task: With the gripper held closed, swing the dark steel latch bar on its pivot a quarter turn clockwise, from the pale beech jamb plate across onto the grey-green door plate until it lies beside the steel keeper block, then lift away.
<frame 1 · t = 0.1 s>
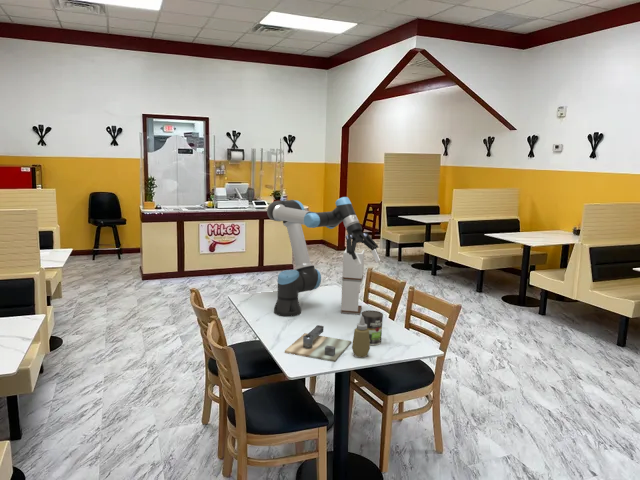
hand: (368, 263, 245), 36 cm above the table, tool tilted 35°, fingers open, 13 cm apart
coffee can: (370, 341, 240), on the table
squeeze bottle: (360, 355, 223), on the table
white square tower: (351, 311, 284), on the table
latch bar: (313, 336, 233), point 4 cm above the table, hinge at 90.0°
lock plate: (318, 347, 230), on the table
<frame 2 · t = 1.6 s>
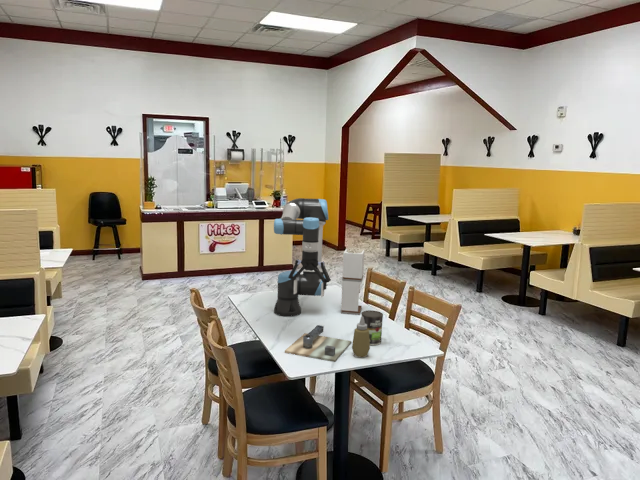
hand: (308, 294, 235), 22 cm above the table, tool pointing down, fingers open, 13 cm apart
nothing on the table moved.
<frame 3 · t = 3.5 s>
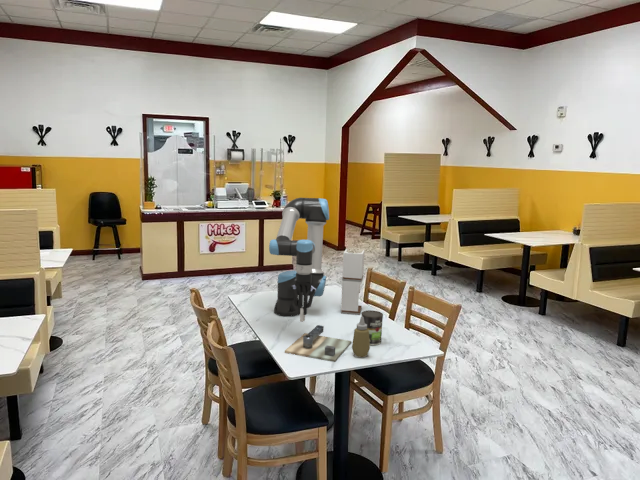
hand: (302, 320, 237), 10 cm above the table, tool pointing down, fingers closed
nothing on the table moved.
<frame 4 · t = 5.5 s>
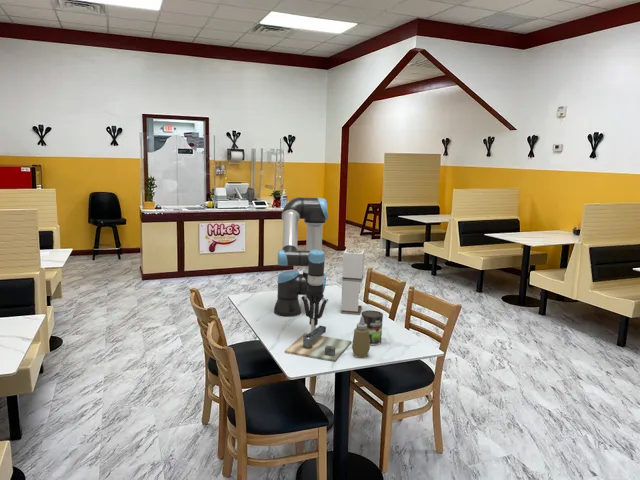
hand: (313, 331, 236), 5 cm above the table, tool pointing down, fingers closed
latch bar: (314, 336, 233), point 4 cm above the table, hinge at 85.3°, touching gripper
everything else where it was.
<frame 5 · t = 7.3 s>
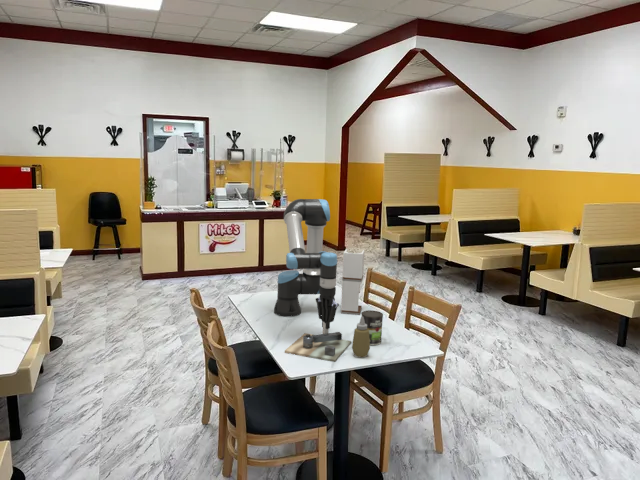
hand: (325, 334, 233), 5 cm above the table, tool pointing down, fingers closed
latch bar: (322, 339, 229), point 4 cm above the table, hinge at 42.4°, touching gripper
everything else where it was.
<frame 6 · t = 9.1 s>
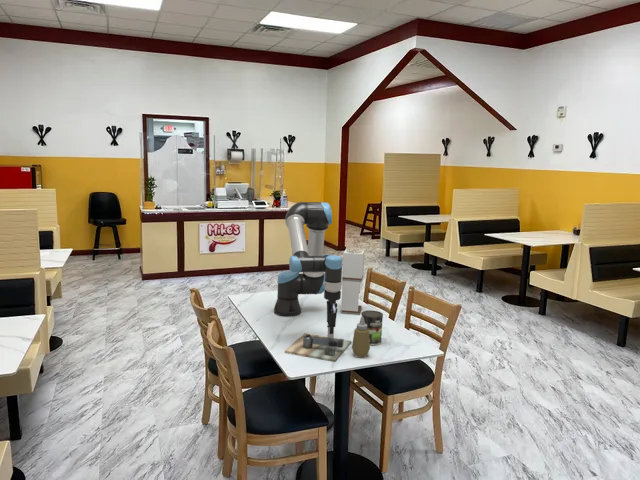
hand: (330, 339, 227), 5 cm above the table, tool pointing down, fingers closed
latch bar: (322, 343, 225), point 4 cm above the table, hinge at 9.0°, touching gripper
everything else where it was.
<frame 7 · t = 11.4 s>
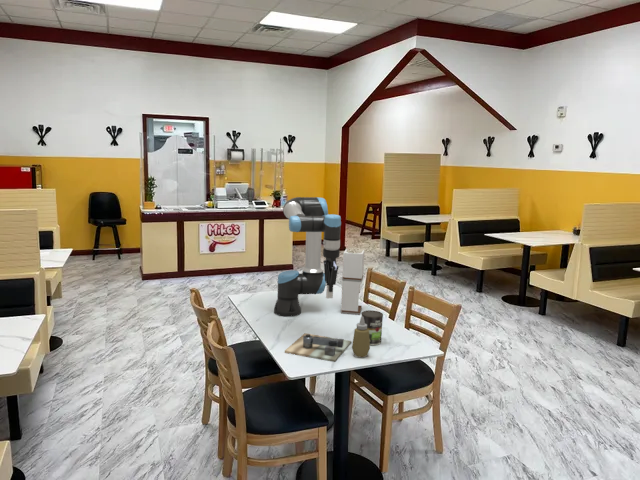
hand: (329, 297, 232), 22 cm above the table, tool pointing down, fingers closed
latch bar: (322, 343, 225), point 4 cm above the table, hinge at 8.9°
everything else where it was.
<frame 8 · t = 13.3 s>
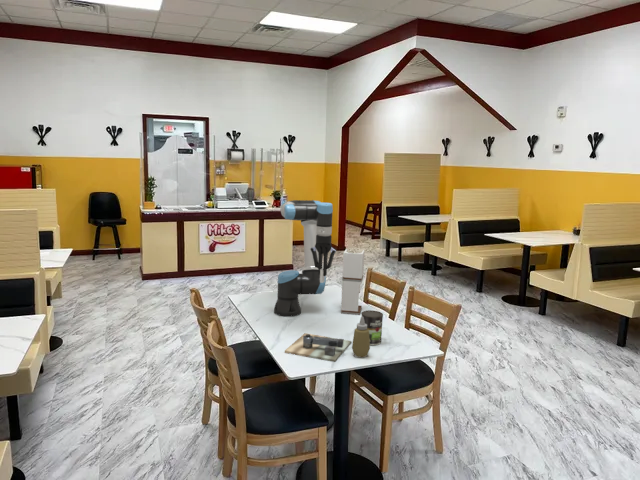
hand: (322, 281, 244), 26 cm above the table, tool pointing down, fingers closed
nothing on the table moved.
at the end: latch bar at +9° (first picture: +90°); latch bar touching nothing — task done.
